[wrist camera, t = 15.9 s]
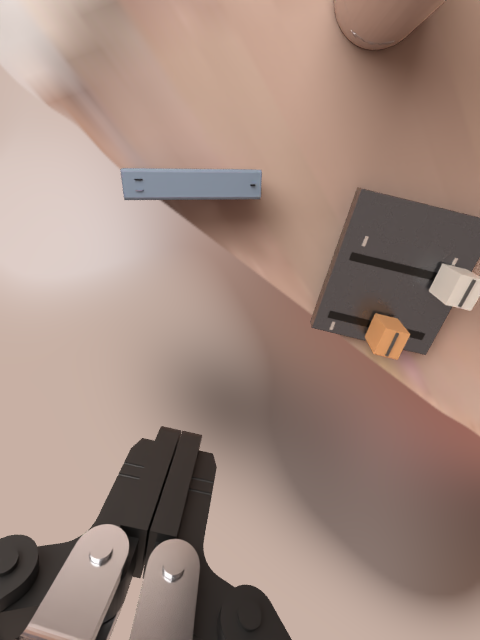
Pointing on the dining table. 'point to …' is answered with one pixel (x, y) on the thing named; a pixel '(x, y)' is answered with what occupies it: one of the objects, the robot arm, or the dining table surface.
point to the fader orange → (386, 336)
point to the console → (394, 266)
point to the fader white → (456, 287)
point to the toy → (190, 184)
